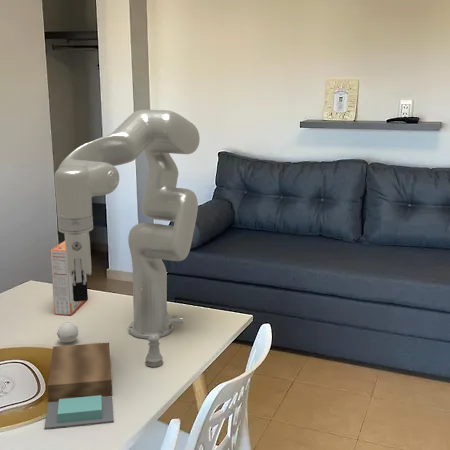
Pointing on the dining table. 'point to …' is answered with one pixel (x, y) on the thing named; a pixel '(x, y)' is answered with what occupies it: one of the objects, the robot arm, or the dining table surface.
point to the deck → (80, 371)
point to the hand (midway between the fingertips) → (80, 299)
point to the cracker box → (62, 282)
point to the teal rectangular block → (79, 408)
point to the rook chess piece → (154, 351)
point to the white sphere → (67, 332)
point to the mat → (53, 423)
